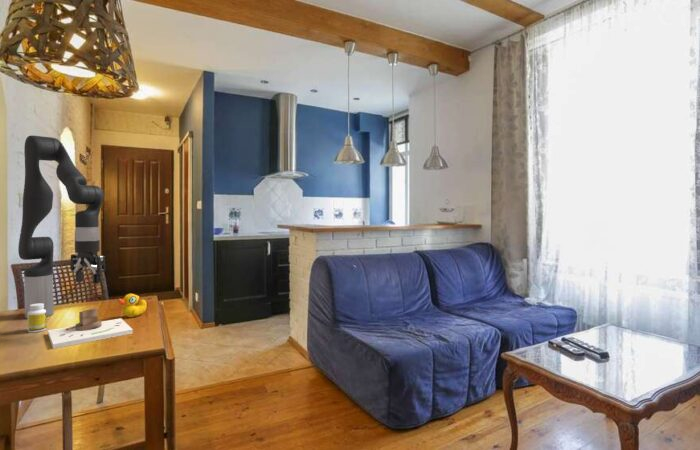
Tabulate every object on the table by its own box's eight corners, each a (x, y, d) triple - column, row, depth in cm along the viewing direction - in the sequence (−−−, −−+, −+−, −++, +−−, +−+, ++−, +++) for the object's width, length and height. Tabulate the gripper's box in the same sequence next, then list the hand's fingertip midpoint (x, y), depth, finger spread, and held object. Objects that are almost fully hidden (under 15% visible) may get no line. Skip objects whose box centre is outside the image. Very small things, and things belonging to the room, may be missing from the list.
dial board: (47, 334, 134) (47, 329, 134) (121, 321, 150) (121, 317, 150) (53, 348, 121) (53, 343, 121) (132, 333, 137) (132, 328, 137)
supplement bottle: (48, 330, 139) (48, 304, 138) (30, 333, 134) (29, 307, 134) (43, 327, 142) (43, 301, 142) (25, 330, 137) (24, 304, 137)
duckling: (122, 321, 151) (121, 296, 150) (115, 319, 154) (114, 295, 153) (149, 314, 161) (149, 291, 160) (142, 312, 163) (142, 290, 163)
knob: (90, 322, 143) (90, 306, 143) (106, 324, 141) (106, 308, 141) (58, 332, 132) (58, 315, 132) (75, 334, 130) (75, 317, 129)
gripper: (62, 239, 135) (63, 283, 136) (92, 240, 131) (93, 286, 132) (82, 238, 142) (83, 279, 143) (111, 239, 138) (112, 282, 139)
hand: (88, 282), depth 137 cm, fingers open, 8 cm apart
